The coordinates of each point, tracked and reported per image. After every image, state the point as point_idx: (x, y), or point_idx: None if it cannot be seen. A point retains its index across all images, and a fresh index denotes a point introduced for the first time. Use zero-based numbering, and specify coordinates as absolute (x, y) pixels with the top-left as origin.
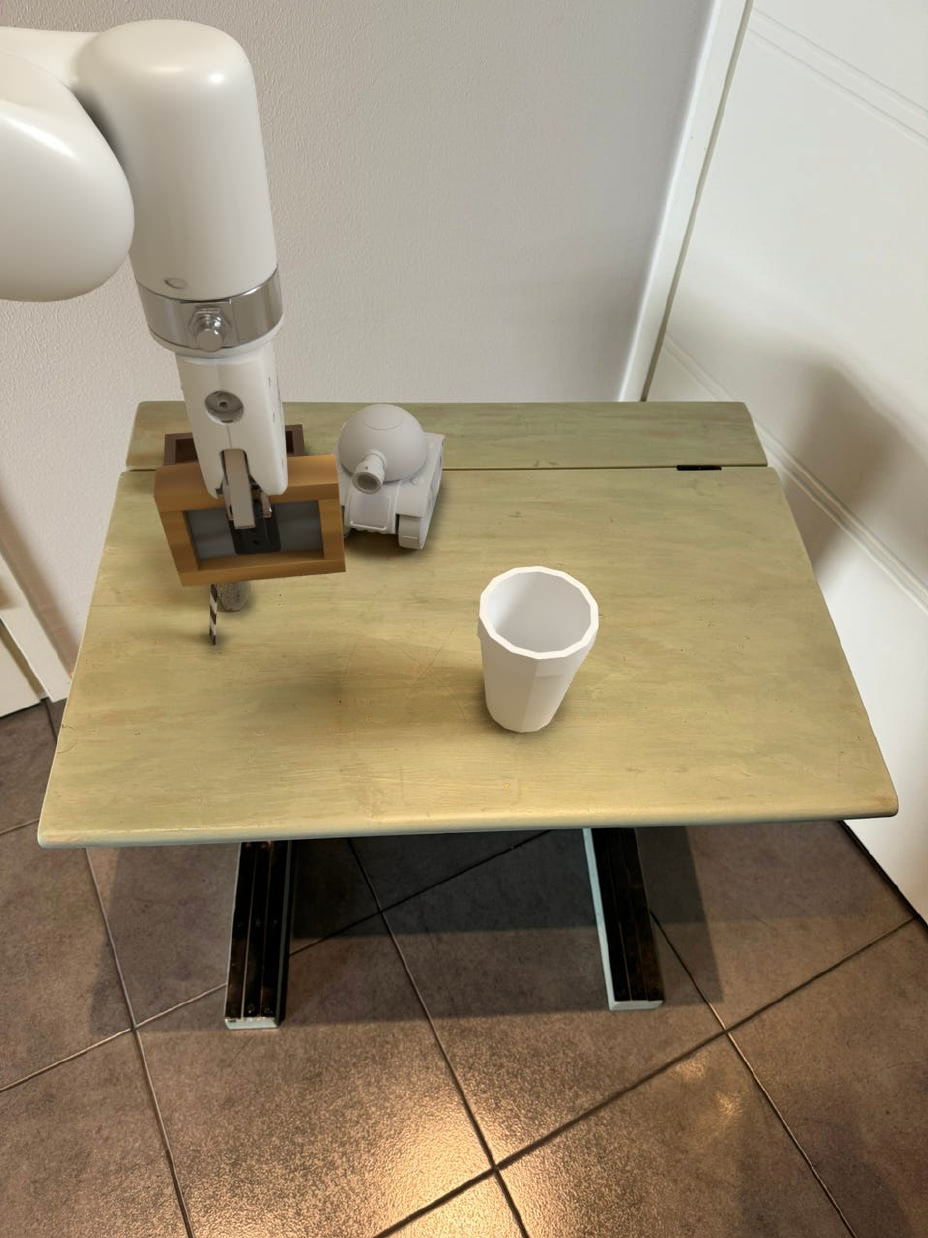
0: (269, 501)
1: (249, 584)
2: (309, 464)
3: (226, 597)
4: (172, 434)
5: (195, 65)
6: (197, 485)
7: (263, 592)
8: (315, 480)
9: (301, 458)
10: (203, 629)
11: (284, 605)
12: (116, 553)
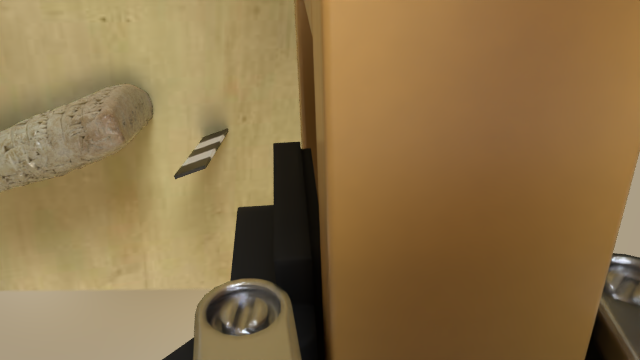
0: (608, 295)
1: (117, 88)
2: (428, 118)
3: (143, 125)
4: None
5: None
6: None
7: (99, 52)
8: (621, 75)
9: (356, 174)
10: (192, 148)
11: (130, 11)
12: (33, 286)
